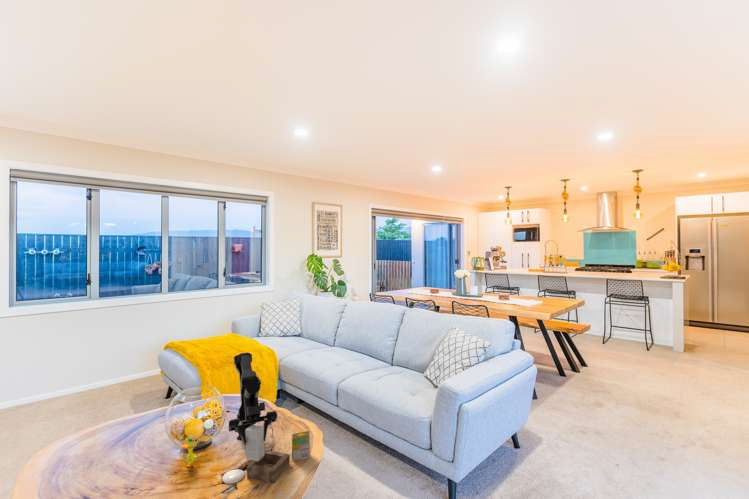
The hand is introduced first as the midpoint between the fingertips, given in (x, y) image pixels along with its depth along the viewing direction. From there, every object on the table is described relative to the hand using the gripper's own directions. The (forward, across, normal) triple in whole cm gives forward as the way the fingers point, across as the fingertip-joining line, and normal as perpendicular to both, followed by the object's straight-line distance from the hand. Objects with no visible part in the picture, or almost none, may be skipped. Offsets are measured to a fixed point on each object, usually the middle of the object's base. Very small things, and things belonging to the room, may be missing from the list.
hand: (255, 442), depth 144 cm
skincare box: (+4, 0, +6) cm, 7 cm away
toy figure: (-3, -24, +22) cm, 33 cm away
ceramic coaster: (+8, -8, +11) cm, 16 cm away
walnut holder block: (+9, +5, +9) cm, 14 cm away
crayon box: (+7, +19, +12) cm, 24 cm away
